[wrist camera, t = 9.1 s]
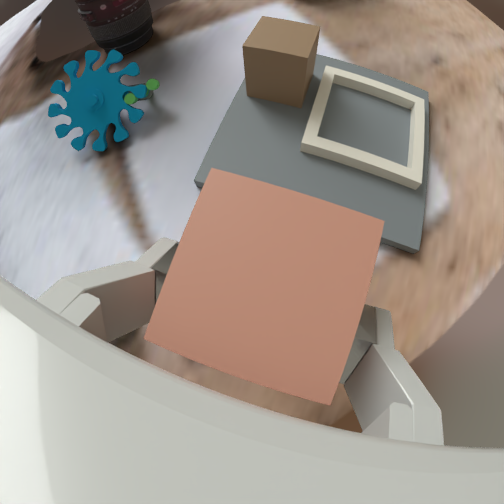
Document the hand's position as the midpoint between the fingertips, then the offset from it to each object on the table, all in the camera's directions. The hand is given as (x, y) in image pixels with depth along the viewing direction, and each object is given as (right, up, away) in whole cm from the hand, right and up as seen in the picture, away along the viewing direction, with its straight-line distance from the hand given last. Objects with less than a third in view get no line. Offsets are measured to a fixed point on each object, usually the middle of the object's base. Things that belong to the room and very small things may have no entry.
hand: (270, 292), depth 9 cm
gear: (-14, +14, +18) cm, 27 cm away
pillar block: (0, -1, +5) cm, 5 cm away
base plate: (+6, +12, +16) cm, 21 cm away
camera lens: (-16, +28, +22) cm, 39 cm away
